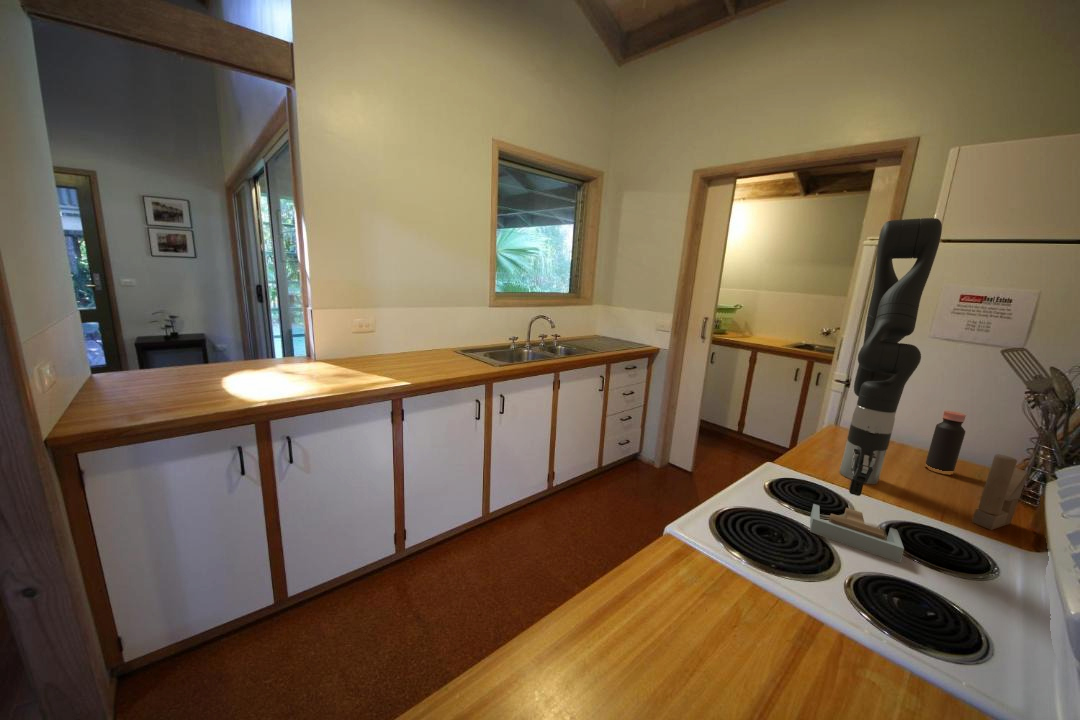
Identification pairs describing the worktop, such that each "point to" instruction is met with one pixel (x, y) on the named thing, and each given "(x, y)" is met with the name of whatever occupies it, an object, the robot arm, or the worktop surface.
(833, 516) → the t block
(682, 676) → the worktop surface
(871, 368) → the robot arm
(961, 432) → the bottle
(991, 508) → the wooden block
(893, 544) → the bracket
